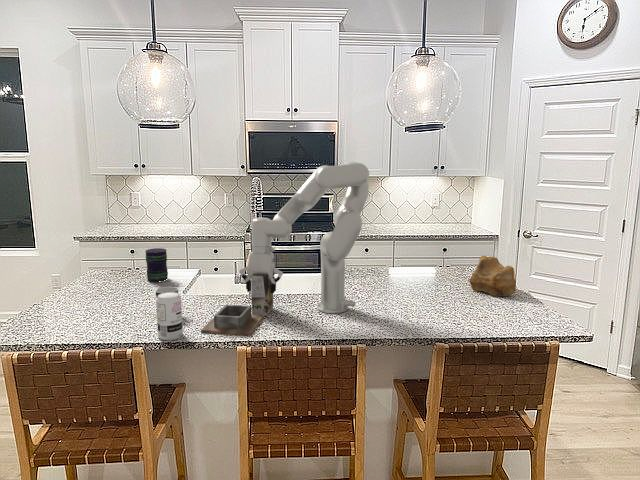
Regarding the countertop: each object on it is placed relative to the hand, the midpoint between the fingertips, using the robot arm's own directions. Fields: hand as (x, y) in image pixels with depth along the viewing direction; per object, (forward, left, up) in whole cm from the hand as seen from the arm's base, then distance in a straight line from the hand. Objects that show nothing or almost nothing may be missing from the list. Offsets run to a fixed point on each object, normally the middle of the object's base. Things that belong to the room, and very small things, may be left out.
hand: (260, 291), depth 193 cm
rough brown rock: (-95, -43, -9) cm, 105 cm away
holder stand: (+6, +16, -8) cm, 19 cm away
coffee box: (-1, 0, -9) cm, 9 cm away
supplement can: (+24, +30, -9) cm, 39 cm away
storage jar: (+62, -38, -9) cm, 74 cm away
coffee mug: (+34, +10, -9) cm, 37 cm away
